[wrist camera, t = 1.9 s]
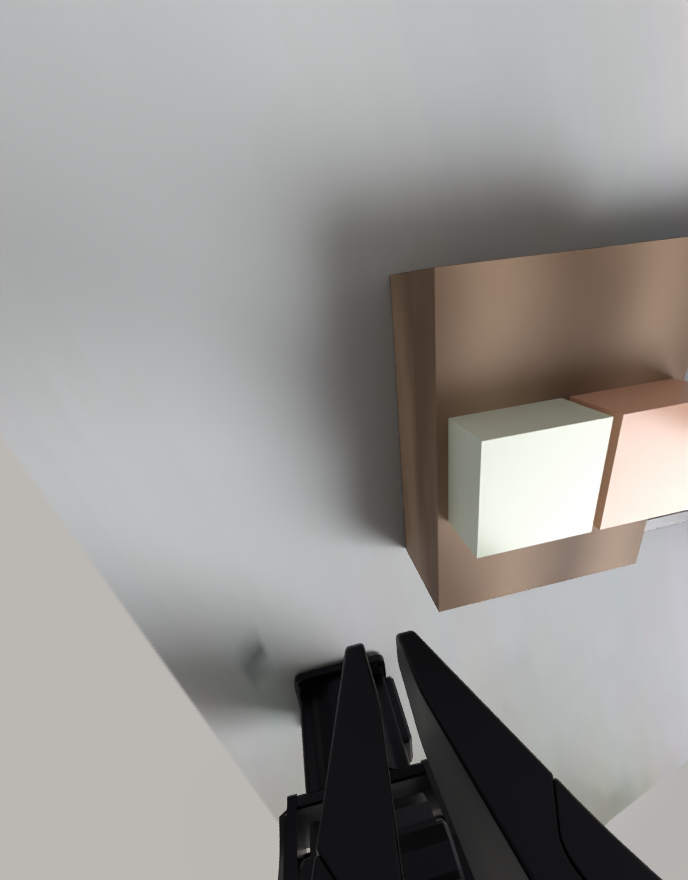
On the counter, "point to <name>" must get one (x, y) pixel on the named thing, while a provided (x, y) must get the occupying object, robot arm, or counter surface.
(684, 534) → the counter surface
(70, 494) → the counter surface
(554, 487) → the tile sage
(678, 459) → the tile terracotta
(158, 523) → the counter surface
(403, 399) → the brown wooden block
